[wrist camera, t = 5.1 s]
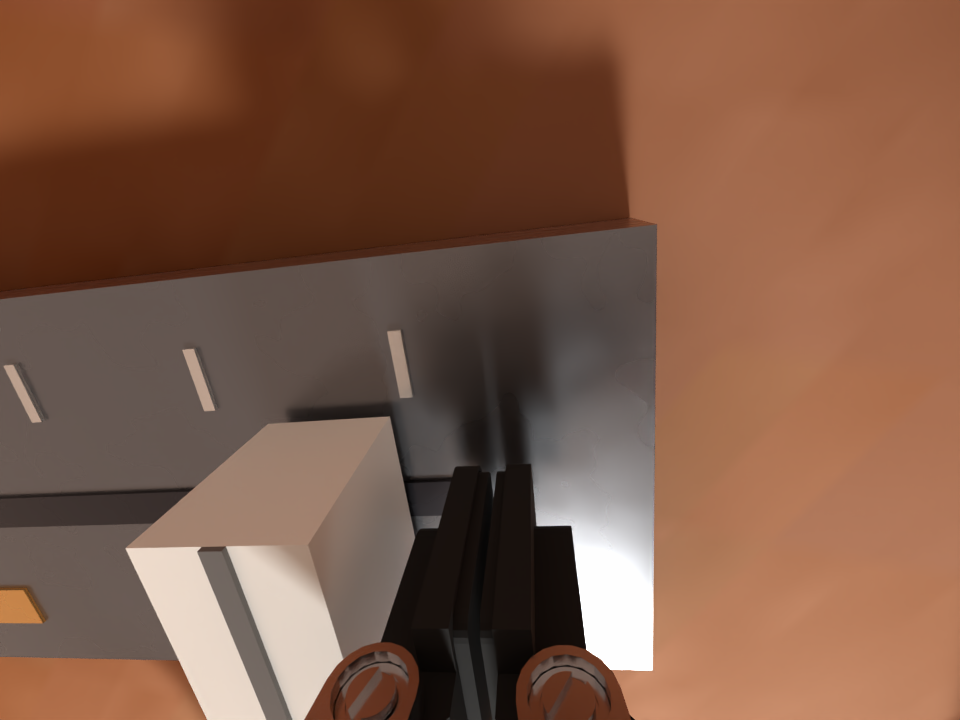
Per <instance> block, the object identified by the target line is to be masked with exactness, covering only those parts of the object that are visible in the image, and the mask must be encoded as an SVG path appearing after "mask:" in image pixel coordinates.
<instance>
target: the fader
mask: <svg viewBox="0 0 960 720" xmlns="http://www.w3.org/2000/svg"><path fill="white" fill-rule="evenodd" d="M414 540H415V535H414V530H413V525H412V521H411V516H410V511H409V506H408V501H407V497H406V492H405V487H404V482H403V477H402V473H401V468H400V463H399V458H398V454H397V449H396V444H395V439H394V434H393V430H392V425H391V420H390V416H389V417H373V418H356V419H340V420H323V421H307V422H290V423H274V424H267V425H266V426H265V427H264V428H263V429H261V430H260V431H259V432H258V433H257V434H256V435H255V436H253V437H252V438H251V439H250V440H249V441H248V442H247V443H245V444H244V445H243V446H242V447H241V448H240V449H238V450H237V451H236V452H235V453H234V454H233V455H232V456H230V457H229V458H228V459H227V460H226V461H225V462H224V463H222V464H221V465H220V466H219V467H218V468H217V469H216V470H214V471H213V472H212V473H211V474H210V475H209V476H208V477H206V478H205V479H204V480H203V481H202V482H201V483H200V484H198V485H197V486H196V487H195V488H194V489H193V490H192V491H190V492H189V493H188V494H187V495H186V496H185V497H183V498H182V499H181V500H180V501H179V502H178V503H177V504H175V505H174V506H173V507H172V508H171V509H170V510H169V511H167V512H166V513H165V514H164V515H163V516H162V517H161V518H159V519H158V520H157V521H156V522H155V523H154V524H153V525H151V526H150V527H149V528H148V529H147V530H146V531H145V532H143V533H142V534H141V535H140V536H139V537H138V538H137V539H135V540H134V541H133V542H132V543H131V544H130V545H128V546H127V547H126V548H125V549H126V551H127V553H128V555H129V557H130V559H131V561H132V563H133V565H134V568H135V570H136V572H137V574H138V576H139V578H140V580H141V582H142V584H143V586H144V588H145V591H146V593H147V595H148V597H149V599H150V601H151V603H152V605H153V607H154V609H155V611H156V614H157V616H158V618H159V620H160V622H161V624H162V626H163V628H164V630H165V632H166V635H167V637H168V639H169V641H170V643H171V645H172V647H173V649H174V651H175V653H176V655H177V658H178V660H179V662H180V664H181V666H182V668H183V670H184V672H185V674H186V676H187V678H188V681H189V683H190V685H191V687H192V689H193V691H194V693H195V695H196V697H197V699H198V702H199V704H200V706H201V708H202V710H203V712H204V714H205V716H206V718H207V720H304V719H305V717H306V716H307V714H308V712H309V710H310V708H311V707H312V705H313V703H314V701H315V699H316V698H317V696H318V694H319V692H320V691H321V689H322V687H323V685H324V683H325V682H326V680H327V678H328V677H329V676H330V674H331V673H332V671H333V670H334V669H335V667H336V666H337V665H338V664H339V663H340V662H341V661H342V660H343V659H344V658H346V657H347V656H348V655H349V654H351V653H352V652H354V651H356V650H358V649H359V648H361V647H363V646H366V645H370V644H374V643H377V642H381V639H382V636H383V633H384V630H385V627H386V624H387V621H388V618H389V615H390V612H391V609H392V606H393V603H394V600H395V597H396V594H397V591H398V588H399V585H400V582H401V579H402V576H403V573H404V570H405V567H406V564H407V561H408V558H409V555H410V552H411V549H412V546H413V543H414Z"/></svg>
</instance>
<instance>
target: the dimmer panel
mask: <svg viewBox="0 0 960 720" xmlns="http://www.w3.org/2000/svg"><path fill="white" fill-rule="evenodd" d="M656 263H657V224H653V223H649V222H645V221H641V220H637V219H633V218H624V219H615V220H607V221H598V222H590V223H581V224H573V225H564V226H556V227H547V228H538V229H530V230H521V231H513V232H504V233H496V234H487V235H479V236H470V237H462V238H453V239H444V240H436V241H427V242H419V243H410V244H402V245H393V246H385V247H376V248H367V249H359V250H350V251H342V252H333V253H325V254H316V255H308V256H299V257H291V258H282V259H273V260H265V261H256V262H248V263H239V264H231V265H222V266H214V267H205V268H196V269H188V270H179V271H171V272H162V273H154V274H145V275H137V276H128V277H119V278H111V279H102V280H94V281H85V282H77V283H68V284H60V285H51V286H43V287H34V288H25V289H17V290H8V291H0V657H41V658H88V659H136V660H178V658H177V655H176V653H175V651H174V649H173V647H172V645H171V643H170V641H169V639H168V637H167V635H166V632H165V630H164V628H163V626H162V624H161V622H160V620H159V618H158V616H157V614H156V611H155V609H154V607H153V605H152V603H151V601H150V599H149V597H148V595H147V593H146V591H145V588H144V586H143V584H142V582H141V580H140V578H139V576H138V574H137V572H136V570H135V568H134V565H133V563H132V561H131V559H130V557H129V555H128V553H127V551H126V549H125V548H126V547H127V546H128V545H130V544H131V543H132V542H133V541H134V540H135V539H137V538H138V537H139V536H140V535H141V534H142V533H143V532H145V531H146V530H147V529H148V528H149V527H150V526H151V525H153V524H154V523H155V522H156V521H157V520H158V519H159V518H161V517H162V516H163V515H164V514H165V513H166V512H167V511H169V510H170V509H171V508H172V507H173V506H174V505H175V504H177V503H178V502H179V501H180V500H181V499H182V498H183V497H185V496H186V495H187V494H188V493H189V492H190V491H192V490H193V489H194V488H195V487H196V486H197V485H198V484H200V483H201V482H202V481H203V480H204V479H205V478H206V477H208V476H209V475H210V474H211V473H212V472H213V471H214V470H216V469H217V468H218V467H219V466H220V465H221V464H222V463H224V462H225V461H226V460H227V459H228V458H229V457H230V456H232V455H233V454H234V453H235V452H236V451H237V450H238V449H240V448H241V447H242V446H243V445H244V444H245V443H247V442H248V441H249V440H250V439H251V438H252V437H253V436H255V435H256V434H257V433H258V432H259V431H260V430H261V429H263V428H264V427H265V426H266V425H267V424H274V423H290V422H307V421H323V420H340V419H356V418H373V417H389V416H390V420H391V425H392V430H393V434H394V439H395V444H396V449H397V454H398V458H399V463H400V468H401V473H402V477H403V482H404V487H405V492H406V497H407V501H408V506H409V511H410V516H411V521H412V525H413V530H414V535H415V537H416V534H417V532H418V531H419V530H420V529H422V528H438V527H439V523H440V519H441V516H442V512H443V508H444V505H445V501H446V497H447V494H448V490H449V486H450V483H451V479H452V475H453V472H454V468H455V467H456V466H478V465H480V466H481V469H482V472H490V474H491V481H492V489H493V497H494V491H495V482H496V474H497V471H506V465H507V464H530V463H531V467H532V477H533V489H534V500H535V512H536V524H537V526H571V528H572V535H573V543H574V551H575V559H576V567H577V575H578V583H579V591H580V599H581V607H582V615H583V623H584V631H585V639H586V647H587V650H588V651H590V652H591V653H593V654H594V655H596V656H597V657H599V658H600V659H602V660H603V662H604V663H605V664H606V665H607V666H608V667H609V668H610V669H613V670H653V574H654V470H655V366H656Z"/></svg>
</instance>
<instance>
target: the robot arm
mask: <svg viewBox="0 0 960 720" xmlns="http://www.w3.org/2000/svg"><path fill="white" fill-rule="evenodd" d="M304 720H635V719H633V718H632V717H631V716H630V715H629V712H628V709H627V706H626V703H625V700H624V697H623V694H622V691H621V688H620V686H619V684H618V682H617V679H616V677H615V675H614V673H613V672H612V670H611V669H610V668H609V667H608V666H607V665H606V664H605V663H604V662H603V660H602V659H600V658H599V657H597V656H596V655H594V654H593V653H591V652H590V651H588V650H587V647H586V639H585V631H584V623H583V615H582V607H581V599H580V591H579V583H578V575H577V567H576V559H575V551H574V543H573V535H572V528H571V526H537V524H536V512H535V500H534V489H533V477H532V467H531V463H530V464H507V465H506V471H497V474H496V482H495V491H494V497H493V489H492V481H491V474H490V472H482V469H481V466H480V465H478V466H456V467H455V468H454V472H453V475H452V479H451V483H450V486H449V490H448V494H447V497H446V501H445V505H444V508H443V512H442V516H441V519H440V523H439V527H438V528H422V529H420V530H419V531H418V532H417V534H416V537H415V540H414V543H413V546H412V549H411V552H410V555H409V558H408V561H407V564H406V567H405V570H404V573H403V576H402V579H401V582H400V585H399V588H398V591H397V594H396V597H395V600H394V603H393V606H392V609H391V612H390V615H389V618H388V621H387V624H386V627H385V630H384V633H383V636H382V639H381V642H377V643H374V644H370V645H366V646H363V647H361V648H359V649H358V650H356V651H354V652H352V653H351V654H349V655H348V656H347V657H346V658H344V659H343V660H342V661H341V662H340V663H339V664H338V665H337V666H336V667H335V669H334V670H333V671H332V673H331V674H330V676H329V677H328V678H327V680H326V682H325V683H324V685H323V687H322V689H321V691H320V692H319V694H318V696H317V698H316V699H315V701H314V703H313V705H312V707H311V708H310V710H309V712H308V714H307V716H306V717H305V719H304Z"/></svg>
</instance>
